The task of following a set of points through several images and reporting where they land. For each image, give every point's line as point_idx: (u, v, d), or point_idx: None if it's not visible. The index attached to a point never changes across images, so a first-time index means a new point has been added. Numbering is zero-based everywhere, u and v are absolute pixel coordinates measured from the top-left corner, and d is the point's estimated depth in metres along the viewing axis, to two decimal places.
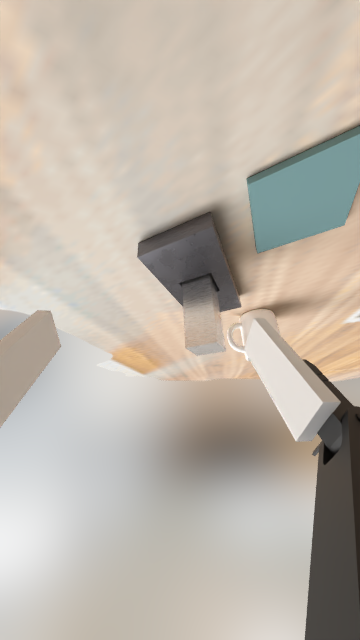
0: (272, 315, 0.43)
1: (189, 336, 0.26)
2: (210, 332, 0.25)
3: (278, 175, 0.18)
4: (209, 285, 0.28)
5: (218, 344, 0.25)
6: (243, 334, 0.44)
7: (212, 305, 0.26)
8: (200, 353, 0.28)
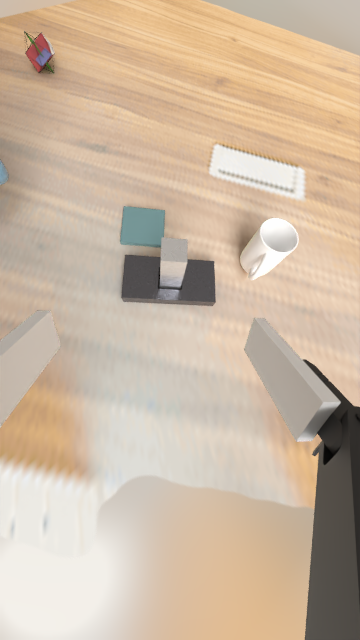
0: None
1: None
2: None
3: (123, 231, 0.45)
4: None
5: (167, 238, 0.32)
6: (257, 264, 0.43)
7: None
8: (182, 257, 0.32)
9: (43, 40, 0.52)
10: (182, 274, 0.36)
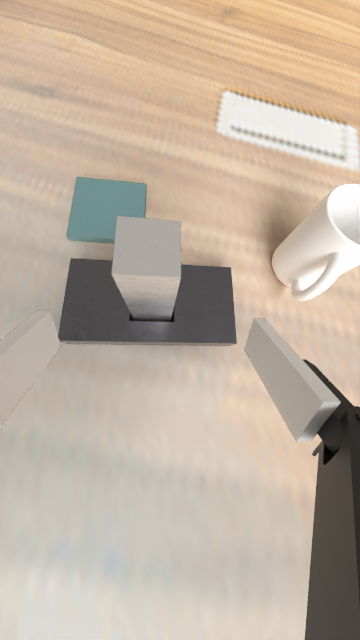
0: None
1: None
2: None
3: (73, 218, 0.26)
4: None
5: (130, 219, 0.13)
6: (310, 271, 0.24)
7: None
8: (168, 265, 0.13)
9: None
10: (172, 299, 0.17)
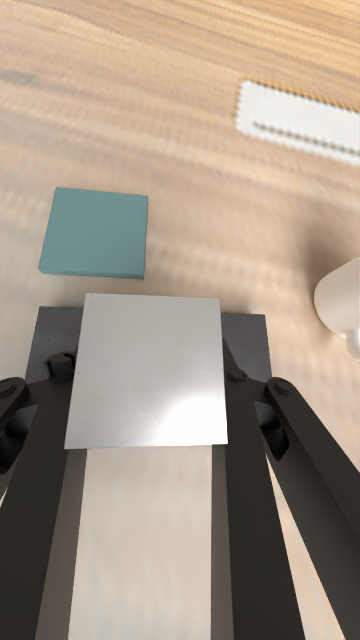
0: (333, 271, 0.21)
1: None
2: None
3: (48, 244, 0.19)
4: None
5: (115, 299, 0.06)
6: None
7: None
8: (198, 411, 0.06)
9: None
10: None
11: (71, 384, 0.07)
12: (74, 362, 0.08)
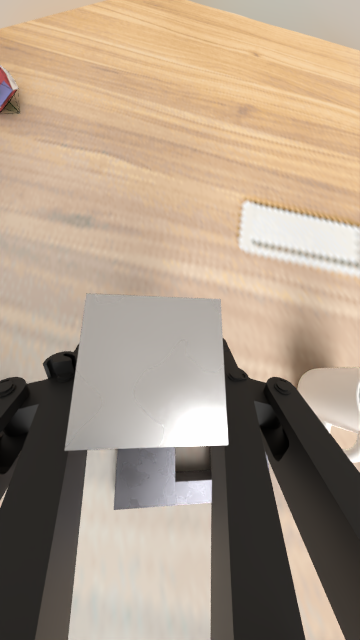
0: (310, 372, 0.31)
1: None
2: None
3: None
4: None
5: (115, 299, 0.06)
6: (338, 426, 0.26)
7: None
8: (198, 413, 0.06)
9: (0, 71, 0.37)
10: None
11: (71, 384, 0.07)
12: (74, 362, 0.08)
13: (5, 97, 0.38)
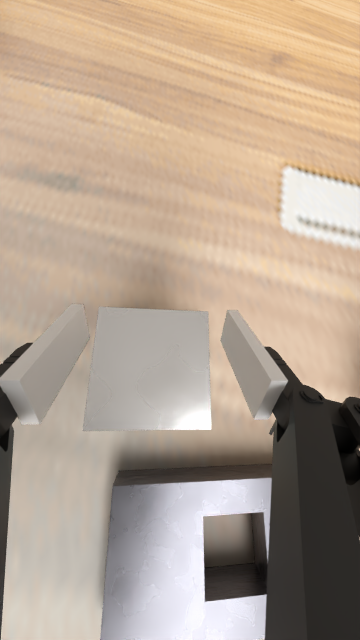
0: None
1: None
2: None
3: None
4: None
5: (122, 312, 0.08)
6: None
7: None
8: (188, 403, 0.07)
9: None
10: None
11: None
12: None
13: None
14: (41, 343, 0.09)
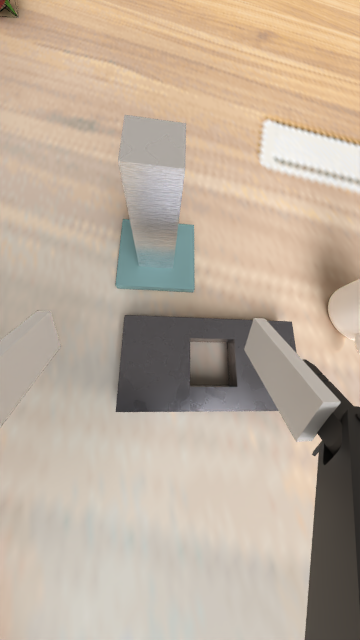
0: (343, 286, 0.27)
1: None
2: None
3: (121, 266, 0.25)
4: None
5: (137, 118, 0.14)
6: None
7: None
8: (173, 158, 0.13)
9: None
10: (176, 216, 0.17)
11: None
12: None
13: None
14: None
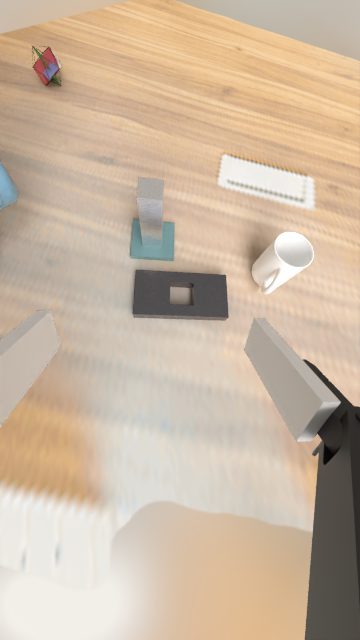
0: None
1: None
2: None
3: (132, 245, 0.44)
4: None
5: (143, 178, 0.33)
6: (270, 277, 0.42)
7: None
8: (158, 195, 0.33)
9: (50, 54, 0.52)
10: (160, 218, 0.37)
11: None
12: None
13: (53, 73, 0.53)
14: None
